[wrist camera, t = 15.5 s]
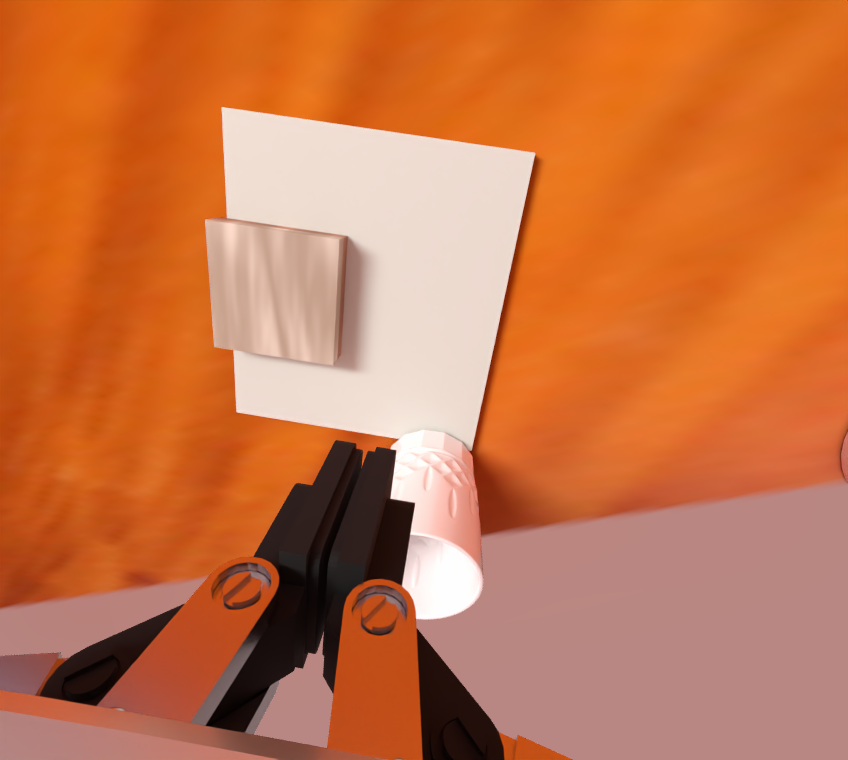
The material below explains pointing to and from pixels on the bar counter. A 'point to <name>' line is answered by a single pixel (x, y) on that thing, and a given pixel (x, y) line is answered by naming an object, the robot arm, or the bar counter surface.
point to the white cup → (439, 523)
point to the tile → (276, 289)
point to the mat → (384, 268)
